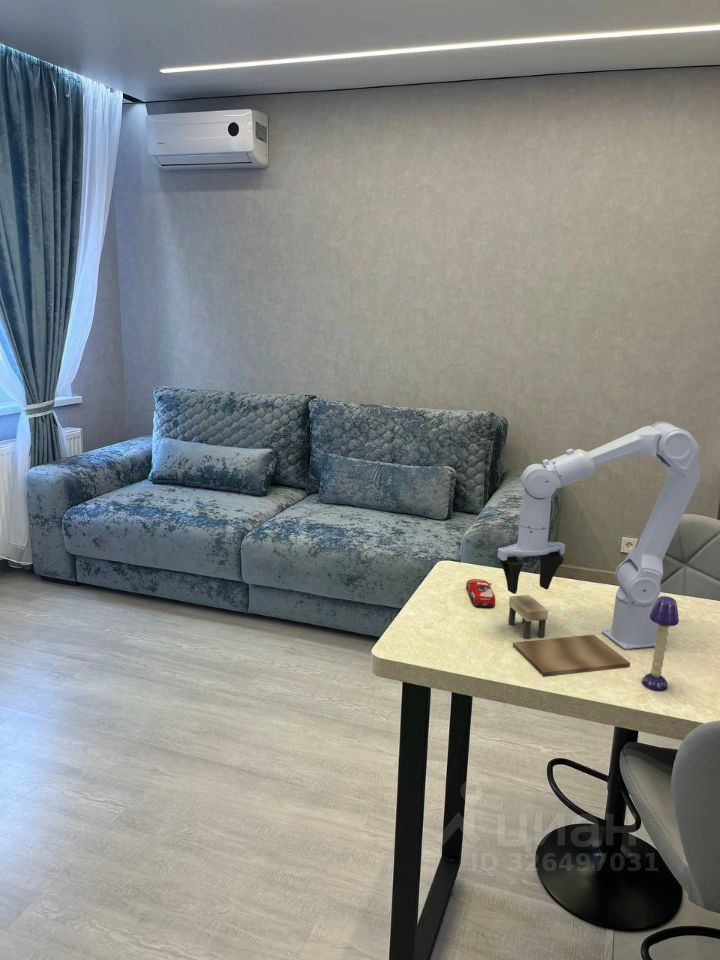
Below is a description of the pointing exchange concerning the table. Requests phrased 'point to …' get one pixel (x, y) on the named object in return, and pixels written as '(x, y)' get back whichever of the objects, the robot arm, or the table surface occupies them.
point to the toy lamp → (661, 640)
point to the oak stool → (528, 614)
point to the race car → (480, 593)
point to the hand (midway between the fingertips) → (528, 589)
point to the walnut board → (570, 655)
